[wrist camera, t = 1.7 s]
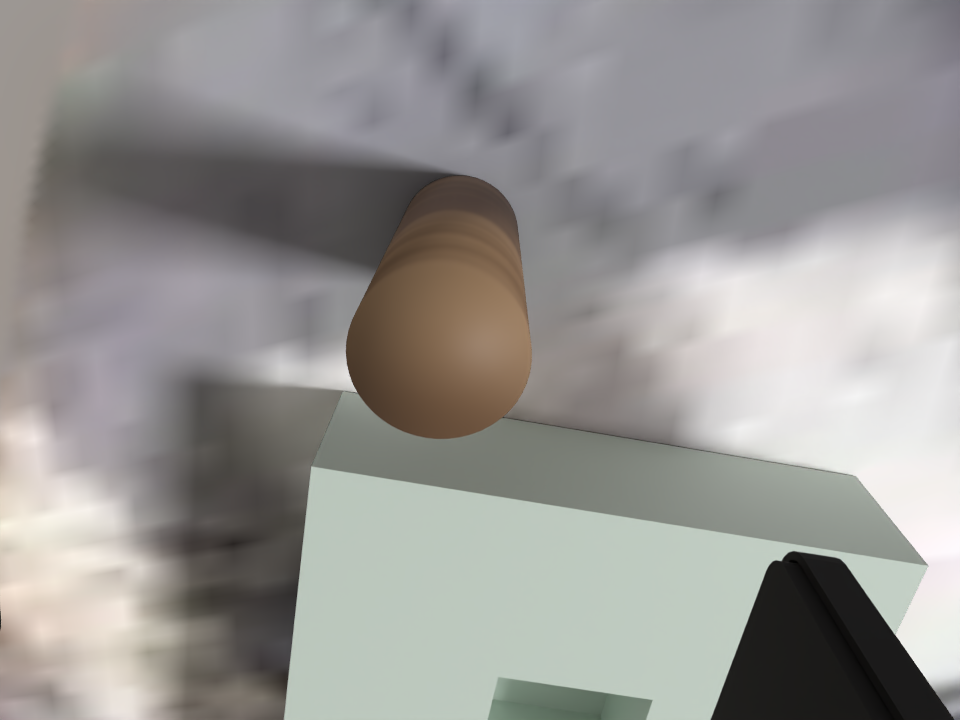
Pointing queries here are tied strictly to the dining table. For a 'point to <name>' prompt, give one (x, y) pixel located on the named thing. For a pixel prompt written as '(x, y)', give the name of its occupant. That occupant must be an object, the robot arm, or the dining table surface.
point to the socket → (551, 570)
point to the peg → (445, 315)
